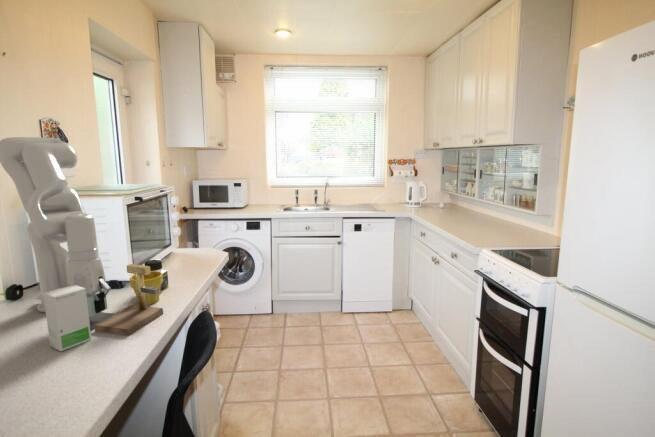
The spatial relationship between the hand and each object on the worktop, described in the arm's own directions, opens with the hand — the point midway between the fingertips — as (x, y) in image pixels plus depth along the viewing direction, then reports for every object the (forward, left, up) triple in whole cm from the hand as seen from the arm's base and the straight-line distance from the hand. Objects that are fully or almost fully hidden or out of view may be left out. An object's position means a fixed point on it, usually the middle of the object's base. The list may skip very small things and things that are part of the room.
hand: (91, 309), depth 116 cm
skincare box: (+5, -12, -4) cm, 13 cm away
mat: (0, 0, -4) cm, 4 cm away
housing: (+12, +3, -4) cm, 13 cm away
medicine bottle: (+1, +28, -4) cm, 28 cm away
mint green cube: (0, 0, -1) cm, 1 cm away
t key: (+13, +8, -2) cm, 15 cm away
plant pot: (+6, +18, -4) cm, 19 cm away
